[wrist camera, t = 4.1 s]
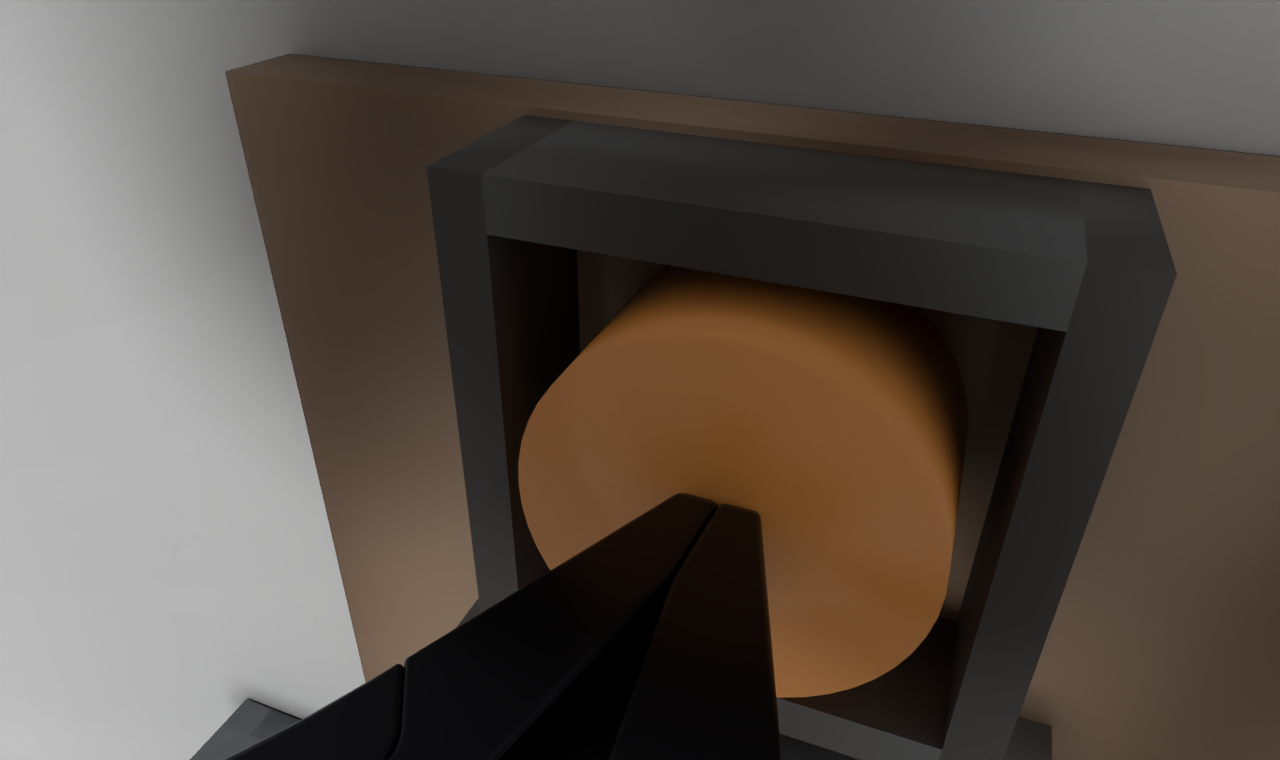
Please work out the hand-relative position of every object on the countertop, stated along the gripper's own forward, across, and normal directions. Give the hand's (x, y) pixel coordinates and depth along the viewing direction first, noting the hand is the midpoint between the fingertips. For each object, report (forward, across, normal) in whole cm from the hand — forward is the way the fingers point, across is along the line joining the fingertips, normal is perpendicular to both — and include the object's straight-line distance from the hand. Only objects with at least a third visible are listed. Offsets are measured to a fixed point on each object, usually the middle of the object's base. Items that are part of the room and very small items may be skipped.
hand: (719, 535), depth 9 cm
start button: (+2, 0, 0) cm, 2 cm away
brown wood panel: (+4, 0, +4) cm, 6 cm away
